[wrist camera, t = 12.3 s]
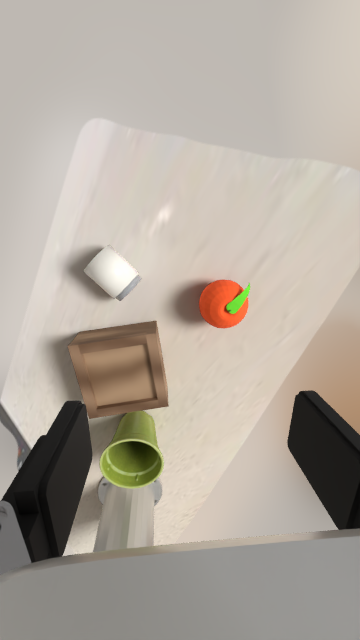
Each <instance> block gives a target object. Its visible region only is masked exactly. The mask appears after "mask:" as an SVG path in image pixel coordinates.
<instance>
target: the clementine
mask: <svg viewBox="0 0 360 640" xmlns="http://www.w3.org/2000/svg"><path fill="white" fill-rule="evenodd" d="M249 290H250V283H249V285H248V287H247V288H246V289H245V290H243V288H242V287H241V286H240V285H238V284H237V283H236V282H233V281H230V280H217V281H215V282H212V283H210V284H209V285H208V286H207V287H206V288H205V289H204V290H203V292H202V294H201V296H200V300H199V307H200V312H201V315H202V317H203V318H204V319H205V321H206V322H208V323H209V324H211V325H212V326H214V327H217V328H229V327H232V326H235V325H237V324H238V323H239V322H241V320H242V319H243V318H244V317H245V315H246V313H247V309H248V298H247V296H248V293H249Z"/></svg>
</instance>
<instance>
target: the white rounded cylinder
mask: <svg viewBox="0 0 360 640" xmlns="http://www.w3.org/2000/svg"><path fill="white" fill-rule="evenodd" d="M84 273H86V274H87V275H88V276H89V277H90V278H91V279H92V280H93V281H94V282H96V283H97V284H98V285H99V286H100V287H101V288H102V289H103V290H105V291H106V292H107V293H108V294H109V295H110V296H111V297H112V298H117V299H118V300H119V301H121V300H122V299H123V298H124V297H125V296H126V295H127V294H128V293H129V292H130V291H131V290H132V289H133V288H134V287H135V286H136V285H137V284H138V282H139V281H140V280H141V277H140V276H139V275H138V273H139V272H138V271H136V270H135V269H134V268H133V267H132V266H131V265H130V264H129V263H128V262H127V261H126V260H125V259H124V258H123V257H122V256H121V255H120V254H119V253H118V252H117V251H116V250H115V249H114V248H113V247H112V246H111V245H108V246H106V247H105V248H104V249H103V250H101V251H100V252H99V253H98V254H97V255H96V256H95V257H94V258H93V259H92V261H91V262H90V263H89V264H88V265H87V267H86V268H85V269H84Z"/></svg>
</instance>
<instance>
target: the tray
mask: <svg viewBox="0 0 360 640" xmlns="http://www.w3.org/2000/svg"><path fill="white" fill-rule="evenodd" d="M68 349H69V353H70V356H71V359H72V363H73V366H74V369H75V373H76V376H77V380H78V383H79V386H80V390H81V393H82V396H83V400H84V403H85V405H86V409H87V413H88V416H89V419H91V418H97V417H104V416H110V415H116V414H122V413H129V412H135V411H141V410H148V409H154V408H160V407H167V406H168V390H167V381H166V375H165V369H164V363H163V357H162V351H161V345H160V339H159V333H158V327H157V321H151V322H144V323H137V324H130V325H124V326H117V327H110V328H103V329H96V330H89V331H83V332H79V334H78V335H77V336H76V337H75V338H74V339H73V341H72V342H71V343H70V344H69V345H68Z"/></svg>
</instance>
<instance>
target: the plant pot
mask: <svg viewBox="0 0 360 640" xmlns="http://www.w3.org/2000/svg"><path fill="white" fill-rule="evenodd" d="M99 465H100V470H101V472H102V474H103V476H104V477H105V478H106V479H107V480H108V481H109V482H110V483H112V484H114V485H116V486H118V487H122V488H128V489H135V488H141V487H144V486H147V485H149V484H151V483H152V482H154V481H155V480H156V479H157V478H158V477H159V476H160V474H161V473H162V471H163V467H164V460H163V456H162V453H161V452H160V450H159V448H158V445H157V438H156V432H155V424H154V420H153V418H152V417H151V416H150V415H148V414H147V413H146V412H144V411H135V412H129V413H127V414H126V415H125V416H124V417H123V418H122V419H121V421H120V423H119V426H118V428H117V430H116V433H115V435H114V437H113V440H112V442H111V443H110V444H109V446H108V447H107V448H106V449H105V450H104V451H103V453H102V455H101V457H100V463H99Z"/></svg>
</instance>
